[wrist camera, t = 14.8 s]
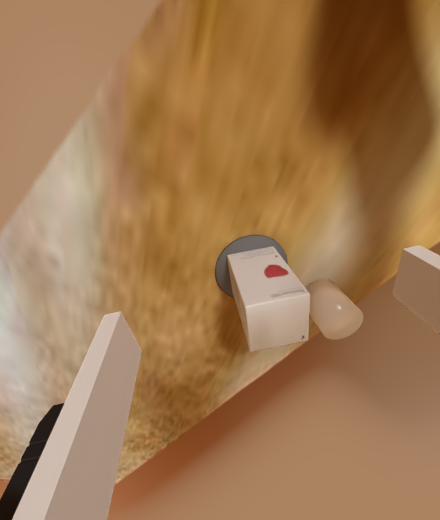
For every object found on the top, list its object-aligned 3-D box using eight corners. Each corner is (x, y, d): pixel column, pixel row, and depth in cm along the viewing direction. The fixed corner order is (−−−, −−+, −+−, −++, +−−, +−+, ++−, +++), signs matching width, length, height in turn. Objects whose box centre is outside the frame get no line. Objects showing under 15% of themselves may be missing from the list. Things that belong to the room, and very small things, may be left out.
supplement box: (274, 244, 43) (313, 293, 30) (275, 284, 48) (310, 342, 35) (225, 253, 43) (244, 307, 30) (231, 293, 47) (249, 354, 34)
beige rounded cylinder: (310, 276, 49) (334, 303, 41) (342, 282, 51) (371, 310, 43) (294, 306, 52) (314, 337, 44) (325, 311, 54) (349, 341, 46)
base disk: (228, 227, 41) (228, 228, 41) (297, 244, 45) (299, 245, 44) (206, 292, 47) (207, 294, 46) (270, 302, 51) (271, 304, 50)
